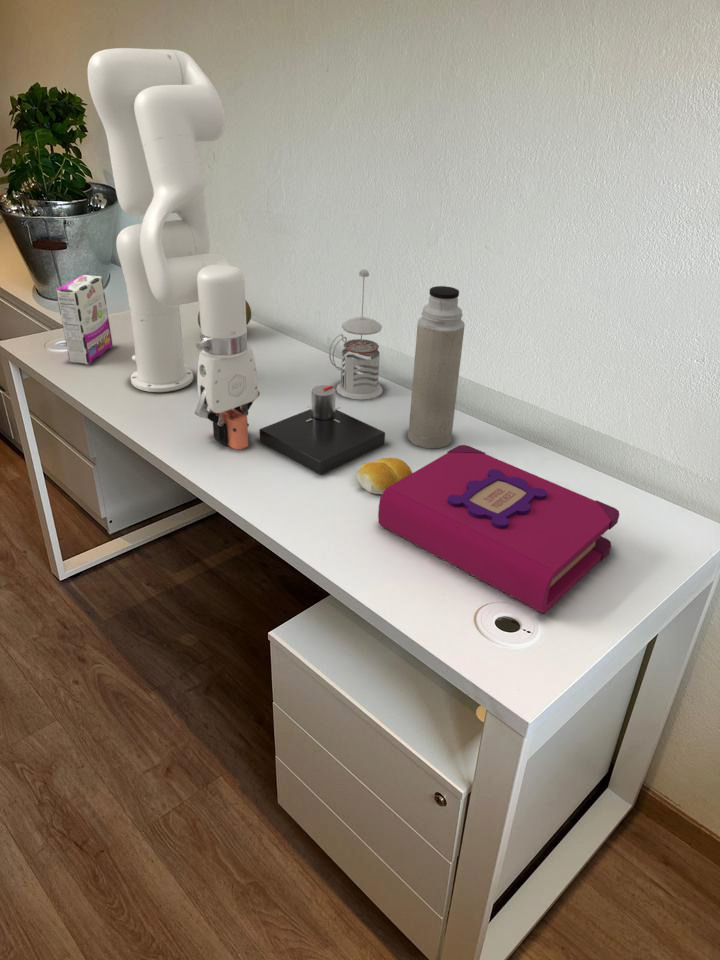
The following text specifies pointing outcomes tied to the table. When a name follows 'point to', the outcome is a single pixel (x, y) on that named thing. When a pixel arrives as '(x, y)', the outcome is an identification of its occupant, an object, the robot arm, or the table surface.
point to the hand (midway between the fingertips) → (230, 437)
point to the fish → (236, 429)
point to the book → (500, 524)
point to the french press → (351, 381)
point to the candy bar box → (84, 318)
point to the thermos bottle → (436, 369)
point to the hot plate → (322, 439)
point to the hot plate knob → (323, 402)
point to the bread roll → (382, 474)
